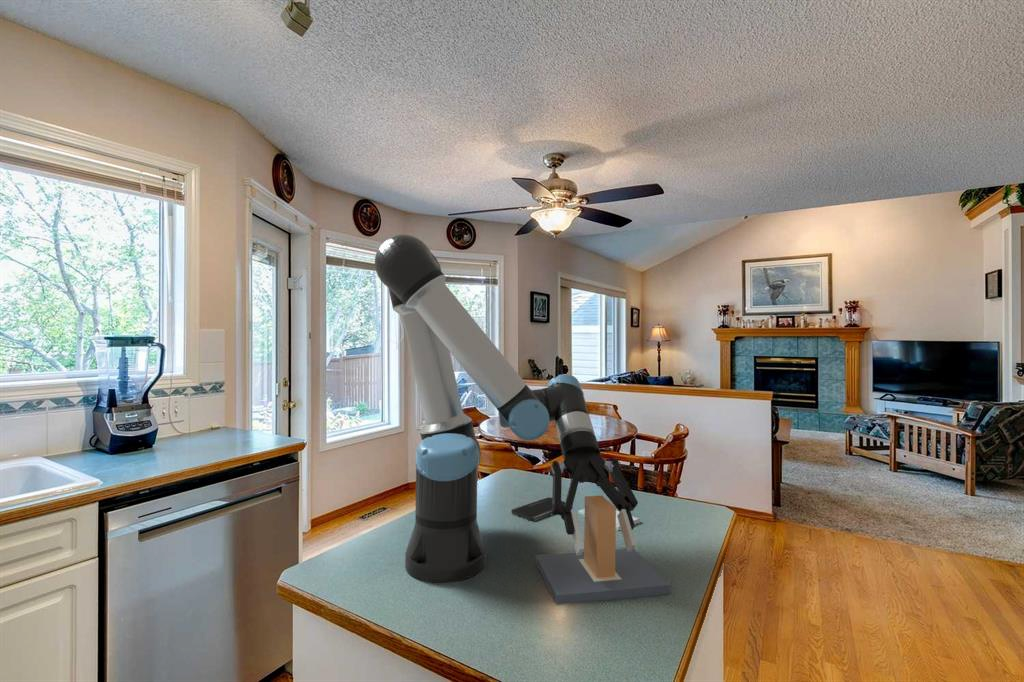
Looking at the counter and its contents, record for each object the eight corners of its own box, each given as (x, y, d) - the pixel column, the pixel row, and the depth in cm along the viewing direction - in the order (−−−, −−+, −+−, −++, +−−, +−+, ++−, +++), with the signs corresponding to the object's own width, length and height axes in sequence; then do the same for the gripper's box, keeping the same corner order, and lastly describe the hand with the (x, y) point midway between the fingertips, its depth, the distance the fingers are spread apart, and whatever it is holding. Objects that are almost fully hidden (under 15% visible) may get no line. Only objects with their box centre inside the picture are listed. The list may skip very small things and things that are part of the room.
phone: (572, 504, 117) (532, 519, 107) (572, 508, 117) (531, 523, 107) (549, 496, 123) (509, 509, 112) (549, 500, 123) (509, 514, 112)
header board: (556, 604, 73) (556, 579, 73) (535, 563, 87) (536, 541, 87) (670, 593, 77) (670, 569, 77) (633, 555, 91) (633, 535, 91)
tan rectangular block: (596, 578, 78) (597, 508, 78) (584, 560, 85) (584, 496, 85) (615, 576, 79) (615, 507, 79) (601, 559, 85) (602, 495, 85)
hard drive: (577, 510, 112) (618, 526, 103) (599, 503, 117) (640, 517, 108) (577, 516, 112) (618, 533, 103) (599, 509, 117) (640, 524, 108)
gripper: (620, 447, 99) (656, 554, 83) (524, 450, 95) (542, 563, 79) (631, 427, 94) (671, 537, 78) (530, 429, 90) (550, 545, 74)
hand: (606, 550), depth 79 cm, fingers open, 9 cm apart
